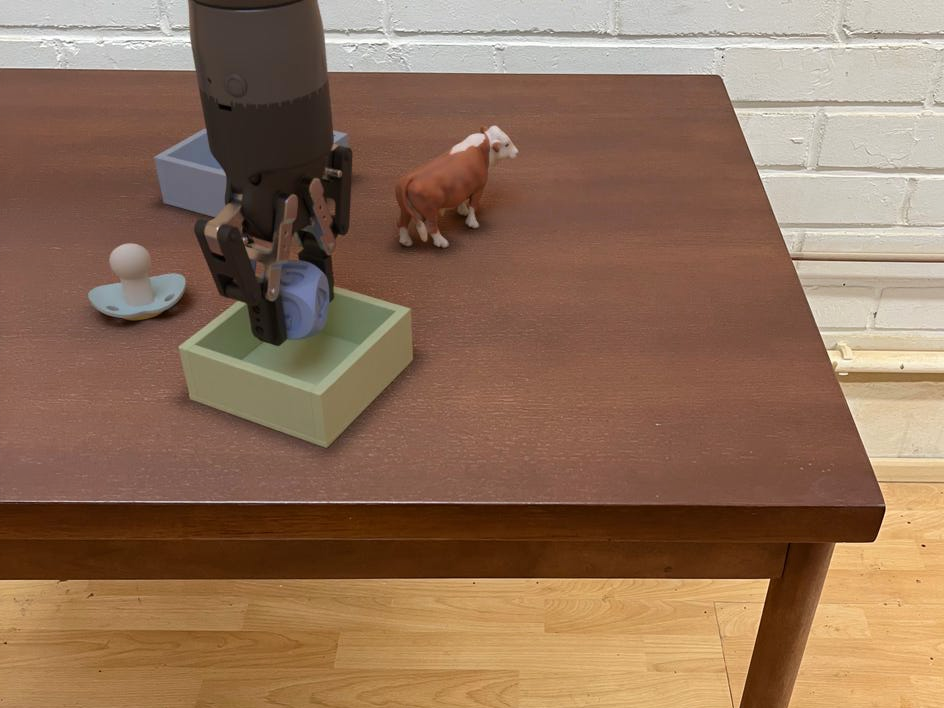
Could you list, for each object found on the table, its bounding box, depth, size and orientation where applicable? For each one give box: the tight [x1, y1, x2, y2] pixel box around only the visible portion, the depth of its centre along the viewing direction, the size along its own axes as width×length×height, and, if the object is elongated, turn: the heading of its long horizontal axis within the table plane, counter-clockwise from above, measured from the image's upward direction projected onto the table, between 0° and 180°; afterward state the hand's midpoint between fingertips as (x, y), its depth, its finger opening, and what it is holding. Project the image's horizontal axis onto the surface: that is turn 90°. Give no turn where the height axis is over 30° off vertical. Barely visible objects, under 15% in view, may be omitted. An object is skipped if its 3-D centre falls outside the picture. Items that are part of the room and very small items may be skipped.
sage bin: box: [177, 285, 414, 449], centre depth 72 cm, size 12×12×4 cm
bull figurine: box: [394, 125, 519, 249], centre depth 87 cm, size 4×13×8 cm, turn 135°
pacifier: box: [87, 242, 187, 321], centre depth 78 cm, size 7×6×6 cm
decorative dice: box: [259, 259, 329, 340], centre depth 69 cm, size 4×4×4 cm
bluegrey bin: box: [153, 127, 350, 218], centre depth 94 cm, size 13×13×4 cm
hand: (295, 319), depth 70 cm, fingers closed on decorative dice, 5 cm apart
